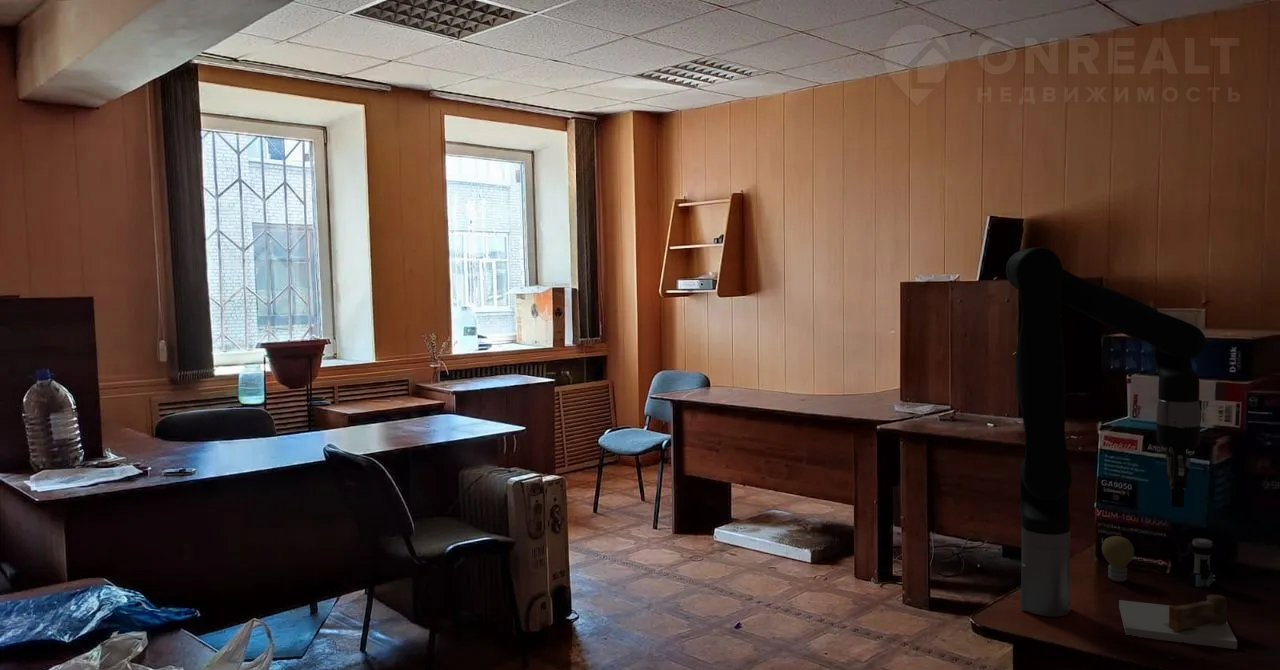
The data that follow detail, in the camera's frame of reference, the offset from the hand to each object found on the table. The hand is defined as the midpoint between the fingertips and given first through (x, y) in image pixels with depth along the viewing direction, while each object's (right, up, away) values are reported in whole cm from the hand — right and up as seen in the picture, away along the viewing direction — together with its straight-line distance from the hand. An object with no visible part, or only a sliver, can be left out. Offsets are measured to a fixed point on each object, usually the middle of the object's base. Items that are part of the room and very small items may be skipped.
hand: (1177, 506), depth 177 cm
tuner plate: (-4, -23, -6) cm, 24 cm away
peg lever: (-2, -21, -10) cm, 23 cm away
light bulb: (-1, -21, +20) cm, 29 cm away
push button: (+15, -21, +16) cm, 30 cm away
